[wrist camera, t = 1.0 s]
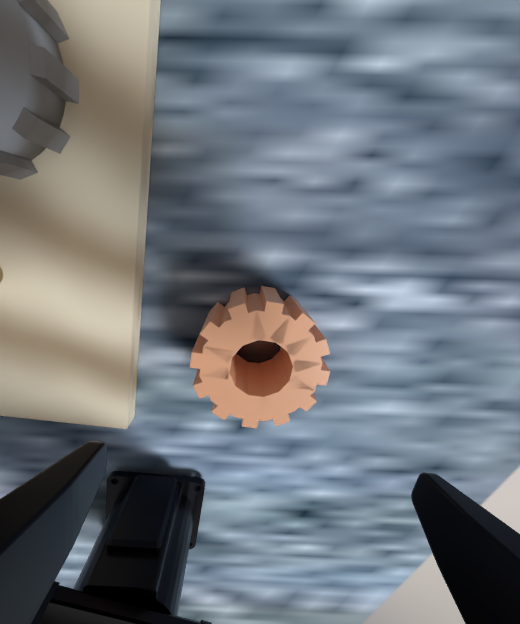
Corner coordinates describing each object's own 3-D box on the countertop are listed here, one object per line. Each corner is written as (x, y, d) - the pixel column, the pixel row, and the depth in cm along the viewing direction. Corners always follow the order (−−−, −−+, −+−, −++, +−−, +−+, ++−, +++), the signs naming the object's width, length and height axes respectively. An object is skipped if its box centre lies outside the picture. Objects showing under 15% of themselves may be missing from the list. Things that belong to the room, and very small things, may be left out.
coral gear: (298, 394, 18) (312, 434, 14) (195, 381, 17) (183, 419, 13) (324, 296, 16) (346, 314, 12) (209, 276, 15) (199, 290, 12)
